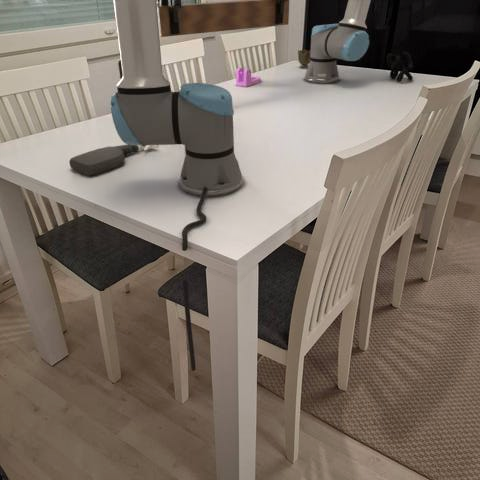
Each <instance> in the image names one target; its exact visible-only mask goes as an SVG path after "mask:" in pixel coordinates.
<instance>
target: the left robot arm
mask: <svg viewBox="0 0 480 480" xmlns="http://www.w3.org/2000/svg"><path fill="white" fill-rule="evenodd" d="M181 4H182V0H113V6H114V7H113V8H114V15H115V22H116V31H117V39H118V48H119V53H120V54H119V55H120V56H119V57H120V60H121V64H122V72H123V77H122V79H121V78H120V81H118V83H117V84H116V89H117V91H116V92H114V93H112V94H111V97H110V106H111V107H110V113H111V117H112V123H113V124H114V128H115V130H116V134H117V136H118V137H119V138H120V140H121V141H122V142H123V143H124V144H125V145H127V144H128V145H141V146H146V145H159V146H172V145H173V146H175V145H176V146H177V145H184V154H185V155H184V158H183V164H182V168H181V171H180V177H179V178H180V179H179V183H180V184H179V185H180V188H181V189H182V191H184V192H186V193H187V194H190V195H194V196H199V197H200V198H199V201H198V203H197V206H196V215H198V216H199V217H200V219H198V220H195V221H192V222H190V223H188V224H186V225H185V226H184V227H183V229H182V231H181V237H182V242H181V250H182V252H187V250H188V245H189V244H188V243H189V242H188V239H189V238H188V231H190V230H191V229H192V228H195V227H198V226H201V225H203V224H204V223H205V222H206V221H207V215H206V214H205V213H203V212H202V207H203V204H204V202H205V199H206V197H221V196H224V195H229V194H232V193H234V192H235V191H237V190H239V189H240V188H241V187H242V185H243V174H242V171H241V168H240V165H239V161H238V159H237V157H236V154H235V138H234V137H235V135H234V134H235V133H234V114H235V110H234V106H233V105H234V104H233V96H232V94H231V92H230V91H229V90H227V89H226V88H224V87H222V86H220V85H215V84H211V83H203V82H192V83H191V82H190V83H189V82H187V83H183V84H182V85H180V86H179V89H178V91H172V89H171V82H170V81H169V80H168V79H166V77H165V75H164V74H163V63H162V53H161V41H160V37H159V28H158V17H157V6H164V5H169V6H170V9H168V11H169V19H170V30H171V34H180V32H179V20H178V10H179V8H181V7H182V6H181ZM182 289H183V302H184V303H183V304H184V314H185V323H186V324H185V325H186V333H187V341H188V343H187V344H188V350H189V360H190V369H191V371H196V368H197V367H196V366H197V365H196V358H195V347H194V337H193V329H192V328H193V327H192V320H191V319H192V318H191V307H190V296H189V282H188V281H187V280H184V279H182Z"/></svg>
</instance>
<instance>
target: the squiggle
mask: <svg viewBox="0 0 480 480" xmlns="http://www.w3.org/2000/svg"><path fill="white" fill-rule="evenodd" d="M401 57H402V59H401ZM391 59H392V60H391ZM393 60H394V61H393ZM385 61H386V64H387V67H390V68H391V70H390V72H389V78H390V79H391V80H395V79H396V81H397V82H399V83H400V82H402V81H403V79H404V76H406V78H407V80H408V81H412V80H413V79H414V77H413V75H412V74H411V73H410V72H409V71H410V70H412V69H413V68H414V64H413V61H412V57H411V54H410V53H409V52H408V51H403V53H402V54H401V55H396V54H394V53H392V52H390V53H387V55H386V57H385ZM406 62H407V65H408V66H407V67H405V66H404V65H405V64H406ZM400 70H401V71H400Z"/></svg>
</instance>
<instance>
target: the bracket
mask: <svg viewBox="0 0 480 480" xmlns="http://www.w3.org/2000/svg"><path fill="white" fill-rule="evenodd" d="M261 81H262V78H261V77H260V76H252V70H251V69H250V68H245V69H244V68H243V67H237V68H236V70H235V85H236V86H239V87H245V88H247V87H249V86H252V85H255V84H258V83H261Z"/></svg>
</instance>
